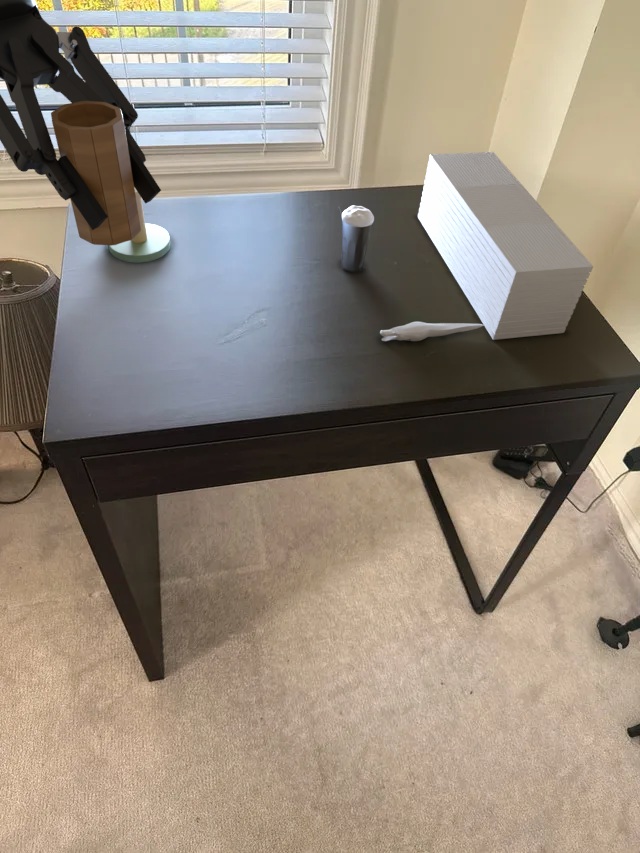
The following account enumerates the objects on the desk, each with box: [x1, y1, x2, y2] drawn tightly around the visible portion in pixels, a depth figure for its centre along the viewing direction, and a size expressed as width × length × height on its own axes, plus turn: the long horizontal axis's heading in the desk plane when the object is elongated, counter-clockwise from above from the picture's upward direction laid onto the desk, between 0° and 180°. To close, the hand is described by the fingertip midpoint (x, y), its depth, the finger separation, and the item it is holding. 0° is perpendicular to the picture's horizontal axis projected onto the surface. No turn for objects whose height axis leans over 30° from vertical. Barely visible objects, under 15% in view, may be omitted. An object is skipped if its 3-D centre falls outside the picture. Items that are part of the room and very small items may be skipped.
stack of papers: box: [417, 151, 594, 341], centre depth 94 cm, size 32×11×11 cm, turn 13°
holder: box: [107, 187, 172, 264], centre depth 93 cm, size 9×9×9 cm
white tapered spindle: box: [379, 321, 485, 342], centre depth 86 cm, size 15×3×2 cm, turn 103°
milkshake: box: [337, 204, 375, 273], centre depth 92 cm, size 4×5×10 cm
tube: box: [50, 101, 141, 246], centre depth 65 cm, size 6×7×12 cm
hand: (127, 209), depth 65 cm, fingers closed on tube, 6 cm apart
